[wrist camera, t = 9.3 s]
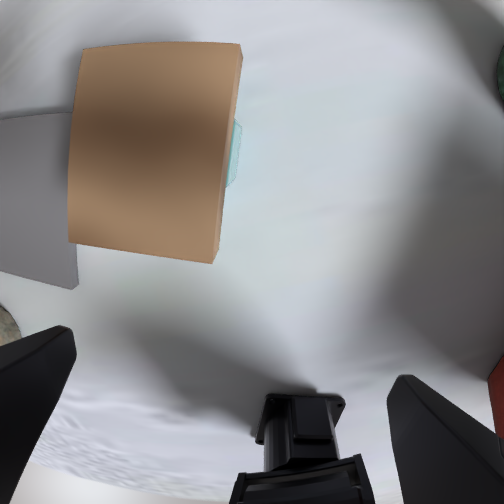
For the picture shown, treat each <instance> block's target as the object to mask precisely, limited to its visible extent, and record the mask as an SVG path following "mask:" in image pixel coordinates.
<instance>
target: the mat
mask: <svg viewBox="0 0 504 504" xmlns="http://www.w3.org/2000/svg"><path fill="white" fill-rule="evenodd" d="M72 114H73V112H65V113H52V114H41V115H32V116H23V117H15V118H8V119H1V120H0V271H2V272H6V273H9V274H13V275H16V276H20V277H23V278H27V279H31V280H35V281H39V282H42V283H46V284H50V285H54V286H58V287H62V288H67V289H71V290H72V289H74V288H75V287H76V286H77V285H78V284H79V282H78V270H77V256H76V244H75V243H69V241H68V208H67V195H68V161H69V146H70V133H71V123H72Z"/></svg>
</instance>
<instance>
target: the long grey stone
mask: <svg viewBox="0 0 504 504" xmlns="http://www.w3.org/2000/svg"><path fill="white" fill-rule="evenodd" d="M18 339H21V334H20V331H19V329H18V326H17V324H16V323H15V321H14V319H13V318H12V316H11V315H10V313H9V312H7V311H5V310H4V309H3V308H2V307H0V346H2V345H5V344H7V343H10V342H13V341H16V340H18Z"/></svg>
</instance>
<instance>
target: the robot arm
mask: <svg viewBox="0 0 504 504" xmlns="http://www.w3.org/2000/svg"><path fill="white" fill-rule="evenodd" d="M76 357H77V351H76V346H75V341H74V336H73V332H72V330H71V329H70V328H68V327H64V326H61V325H58V326H55V327H52V328H49V329H46V330H44V331H41V332H38V333H35V334H32V335H30V336H27V337H24V338H21V339H18V340H16V341H13V342H10V343H7V344H5V345H2V346H0V504H9V503H10V501H11V498H12V496H13V493H14V491H15V489H16V487H17V484H18V482H19V480H20V477H21V475H22V473H23V471H24V468H25V466H26V464H27V462H28V460H29V458H30V456H31V454H32V451H33V449H34V447H35V445H36V443H37V441H38V439H39V437H40V435H41V433H42V431H43V429H44V427H45V425H46V423H47V422H48V420H49V418H50V416H51V414H52V412H53V410H54V408H55V406H56V404H57V402H58V400H59V398H60V396H61V394H62V391H63V389H64V386H65V384H66V381H67V379H68V377H69V374H70V372H71V370H72V367H73V365H74V363H75V361H76ZM271 399H273V400H271ZM340 403H341V404H340ZM345 405H346V403H345V400H344V399H343V398H327V397H307V396H293V395H281V394H268V395H267V396H266V397H265V401H264V406H263V410H262V414H261V418H260V422H259V426H258V430H257V434H256V438H255V442H256V444H259V445H264V472H257V473H246V472H244V473H239V474H238V477H237V481H235V484H234V488H233V491H232V495H231V498H230V502H229V504H375V499H374V495H373V491H372V487H371V484H370V481H369V478H368V475H367V472H366V469H365V466H364V462H363V459H362V456H361V453H360V454H356V455H353V457H349V458H344V459H340V454H339V449H338V444H337V439H336V434H335V427H336V424H337V422H338V420H339V418H340V416H341V414H342V412H343V410H344V408H345ZM387 410H388V417H389V424H390V433H391V441H392V448H393V453H394V457H395V462H396V467H397V471H398V476H399V481H400V486H401V491H402V496H403V502H404V504H504V439H502V438H501V437H498V435H497V434H495V433H494V432H492V431H491V430H490V429H488V428H487V427H485V426H484V425H483V424H481V423H480V422H478V421H477V420H475V419H474V418H473V417H471V416H470V415H468V414H467V413H466V412H464V411H463V410H461V409H460V408H459V407H457V406H456V405H454V404H453V403H452V402H450V401H449V400H447V399H446V398H445V397H443V396H442V395H440V394H439V393H438V392H436V391H435V390H433V389H432V388H431V387H429V386H428V385H426V384H425V383H424V382H422V381H421V380H419V379H418V378H417V377H415V376H414V375H399V376H398V377H397V379H396V381H395V383H394V385H393V387H392V389H391V391H390V393H389V395H388V397H387Z"/></svg>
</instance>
